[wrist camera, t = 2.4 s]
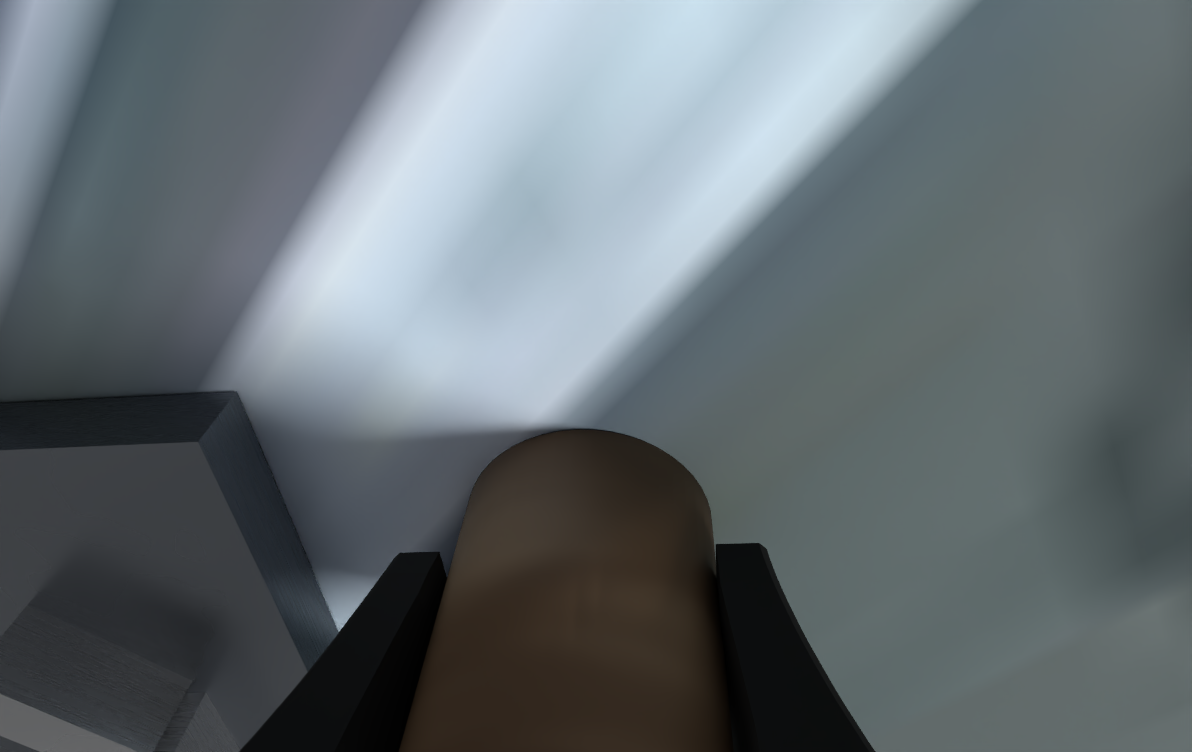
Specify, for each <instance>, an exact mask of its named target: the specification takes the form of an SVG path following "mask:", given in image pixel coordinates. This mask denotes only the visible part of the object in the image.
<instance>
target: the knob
mask: <svg viewBox="0 0 1192 752" xmlns="http://www.w3.org/2000/svg"><path fill="white" fill-rule="evenodd" d="M399 752H734V750H733V739H732V729H731V718H730V708H729V697H728V687H727V676H726V666H725V657H724V647H723V641H722V633H721V623H720V612H719V601H718V591H717V580H716V560H715V550H714V539H713V529H712V519H711V511H710V507H709V504H708V500H707V498H706V496H705V494H704V492H703V490H702V488H701V486H700V485H699V483H698V482H697V480H696V479H695V478H694V476H693V475H692V474H691V473H690V472H689V471H688V470H687V469H686V468H685V467H684V466H683V465H682V464H681V463H679V462H678V461H677V460H676V459H675V458H673V457H672V456H670V455H669V454H667V453H666V452H664V451H662V450H661V449H659V448H657V447H655V446H653V445H651V444H649V443H646V442H644V441H642V440H639V439H636V438H633V437H630V436H627V435H622V434H618V433H613V432H607V431H599V430H567V431H558V432H553V433H548V434H543V435H540V436H537V437H534V438H531V439H528V440H525V441H523V442H521V443H519V444H517V445H515V446H513V447H511V448H509V449H508V450H506V451H505V452H503V453H502V454H500V455H499V456H498V457H497V458H495V459H494V460H493V461H492V462H491V463H490V464H489V465H488V466H487V467H486V468H485V470H484V471H483V472H482V473H481V475H480V476H479V478H478V480H477V481H476V483H475V485H474V487H473V490H472V492H471V495H470V498H469V502H468V506H467V509H466V513H465V516H464V520H463V523H462V527H461V531H460V534H459V538H458V541H457V545H456V548H455V552H454V556H453V559H452V563H451V566H450V570H449V573H448V577H447V581H446V584H445V588H444V591H443V595H442V598H441V602H440V606H439V609H438V613H437V616H436V620H435V623H434V627H433V631H432V634H431V638H430V641H429V645H428V648H427V652H426V656H425V659H424V663H423V666H422V670H421V673H420V677H419V681H418V684H417V688H416V691H415V695H414V698H413V702H412V706H411V709H410V713H409V716H408V720H407V723H406V727H405V730H404V734H403V738H402V741H401V745H400V748H399Z"/></svg>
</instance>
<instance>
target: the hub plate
mask: <svg viewBox="0 0 1192 752" xmlns="http://www.w3.org/2000/svg"><path fill="white" fill-rule="evenodd" d="M338 633H339V632H338V630H337V628H336V625H335V623H334V621H333V618H332V616H331V614H330V611H329V609H328V606H327V604H326V602H325V599H324V597H323V595H322V592H321V590H320V588H319V585H318V583H317V580H316V578H315V576H314V573H313V571H312V569H311V566H310V564H309V562H308V559H307V557H306V555H305V552H304V550H303V547H302V545H301V543H300V540H299V538H298V536H297V533H296V531H295V529H294V526H293V524H292V521H291V519H290V517H289V514H288V512H287V510H286V507H285V505H284V503H283V500H282V498H281V495H280V493H279V491H278V488H277V486H276V484H275V481H274V479H273V477H272V474H271V472H270V469H269V467H268V465H267V462H266V460H265V458H264V455H263V453H262V451H261V448H260V446H259V443H258V441H257V439H256V436H255V434H254V432H253V429H252V427H251V425H250V422H249V420H248V417H247V415H246V413H245V410H244V408H243V406H242V403H241V401H240V399H239V396H238V394H237V392H223V393H203V394H183V395H163V396H143V397H122V398H102V399H82V400H62V401H42V402H22V403H2V404H0V752H239V751H240V750H241V749H242V747H243V746H244V745H245V744H246V743H247V742H248V741H249V740H250V739H251V738H252V737H253V735H254V734H255V733H256V732H257V731H258V730H259V729H260V727H261V726H262V725H263V724H264V723H265V722H266V720H267V719H268V718H269V717H270V716H271V715H272V713H273V712H274V711H275V710H276V709H277V708H278V707H279V705H280V704H281V703H282V702H283V701H284V700H285V698H286V697H287V696H288V695H289V694H290V693H291V692H292V690H293V689H294V688H295V687H296V686H297V684H298V683H299V682H300V681H301V680H302V678H303V677H304V676H305V675H306V673H307V672H308V671H309V670H310V668H311V667H312V666H313V665H314V663H315V662H316V661H317V660H318V658H319V657H320V656H321V655H322V653H323V652H324V651H325V650H326V648H327V647H328V646H329V644H330V643H331V642H332V641H333V639H334V638H335V637H336V636H337V634H338Z"/></svg>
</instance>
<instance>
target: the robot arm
mask: <svg viewBox="0 0 1192 752" xmlns="http://www.w3.org/2000/svg"><path fill="white" fill-rule="evenodd" d="M716 580H717V591H718V601H719V612H720V623H721V633H722V641H723V647H724V657H725V666H726V676H727V687H728V697H729V708H730V718H731V729H732V739H733V750H734V752H875V751H874V749H873V748H872V746H871V745H870V743H869V742H868V740H867V739H866V737H865V736H864V734H863V733H862V731H861V729H860V728H859V726H858V725H857V723H856V722H855V720H854V719H853V717H852V715H851V714H850V712H849V711H848V709H847V708H846V706H845V704H844V703H843V701H842V700H841V698H840V696H839V695H838V693H837V691H836V690H835V688H834V686H833V685H832V683H831V681H830V680H829V678H828V676H827V674H826V672H825V671H824V669H823V667H822V665H821V664H820V662H819V660H818V658H817V657H816V655H815V653H814V651H813V650H812V648H811V646H810V644H809V642H808V641H807V639H806V637H805V635H804V633H803V631H802V629H801V627H800V625H799V623H798V621H797V619H796V617H795V615H794V613H793V611H792V609H791V607H790V605H789V603H788V601H787V599H786V597H785V595H784V592H783V590H782V588H781V586H780V583H779V581H778V579H777V576H776V574H775V571H774V569H773V566H772V563H771V561H770V558H769V555H768V552H767V549H766V548H765V547H763V546H762V545H761V544H760V543H743V544H716ZM446 581H447V577H446V573H445V570H444V566H443V563H442V559H441V556H440V552H414V553H399V554H398V555H397V556H396V557H395V558H394V559H393V561H392V562H391V563H390V565H389V566H388V568H387V569H386V570H385V572H384V573H383V574H382V576H381V577H380V578H379V580H378V581H377V582H376V584H375V585H374V587H373V588H372V589H371V591H370V592H369V593H368V595H367V596H366V597H365V599H364V600H363V601H362V603H361V604H360V605H359V607H358V608H357V609H356V611H355V612H354V613H353V615H352V616H351V617H350V619H349V620H348V621H347V623H346V624H345V625H344V627H343V628H342V629H341V630H340V632H339V633H338V634H337V636H336V637H335V638H334V639H333V641H332V642H331V643H330V644H329V646H328V647H327V648H326V650H325V651H324V652H323V653H322V655H321V656H320V657H319V658H318V660H317V661H316V662H315V663H314V665H313V666H312V667H311V668H310V670H309V671H308V672H307V673H306V675H305V676H304V677H303V678H302V680H301V681H300V682H299V683H298V684H297V686H296V687H295V688H294V689H293V690H292V692H291V693H290V694H289V695H288V696H287V697H286V698H285V700H284V701H283V702H282V703H281V704H280V705H279V707H278V708H277V709H276V710H275V711H274V712H273V713H272V715H271V716H270V717H269V718H268V719H267V720H266V722H265V723H264V724H263V725H262V726H261V727H260V729H259V730H258V731H257V732H256V733H255V734H254V735H253V737H252V738H251V739H250V740H249V741H248V742H247V743H246V744H245V745H244V746H243V747H242V749H241V750H240V751H239V752H399V748H400V745H401V741H402V738H403V734H404V730H405V727H406V723H407V720H408V716H409V713H410V709H411V706H412V702H413V698H414V695H415V691H416V688H417V684H418V681H419V677H420V673H421V670H422V666H423V663H424V659H425V656H426V652H427V648H428V645H429V641H430V638H431V634H432V631H433V627H434V623H435V620H436V616H437V613H438V609H439V606H440V602H441V598H442V595H443V591H444V588H445V584H446Z"/></svg>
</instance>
